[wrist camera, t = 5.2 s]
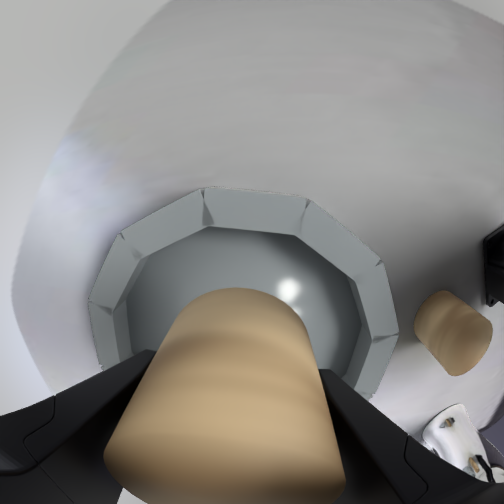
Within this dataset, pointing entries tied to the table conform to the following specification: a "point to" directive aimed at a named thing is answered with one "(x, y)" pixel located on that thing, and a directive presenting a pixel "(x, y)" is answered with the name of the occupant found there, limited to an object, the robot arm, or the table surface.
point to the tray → (248, 277)
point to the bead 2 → (452, 332)
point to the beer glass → (464, 445)
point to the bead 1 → (230, 411)
